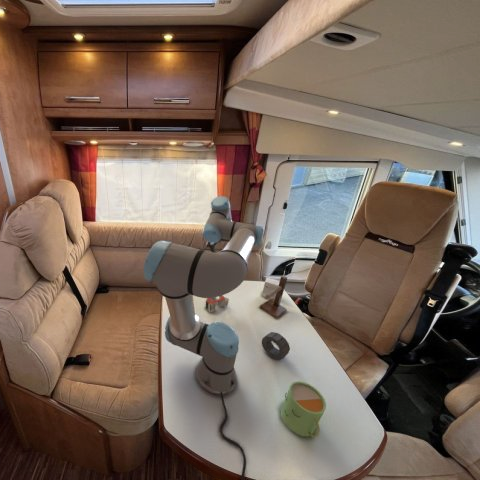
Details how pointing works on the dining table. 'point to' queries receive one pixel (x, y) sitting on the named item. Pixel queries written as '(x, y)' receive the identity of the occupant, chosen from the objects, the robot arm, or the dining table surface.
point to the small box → (270, 287)
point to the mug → (303, 409)
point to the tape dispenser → (221, 302)
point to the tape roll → (279, 341)
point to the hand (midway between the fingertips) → (227, 255)
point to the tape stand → (274, 306)
